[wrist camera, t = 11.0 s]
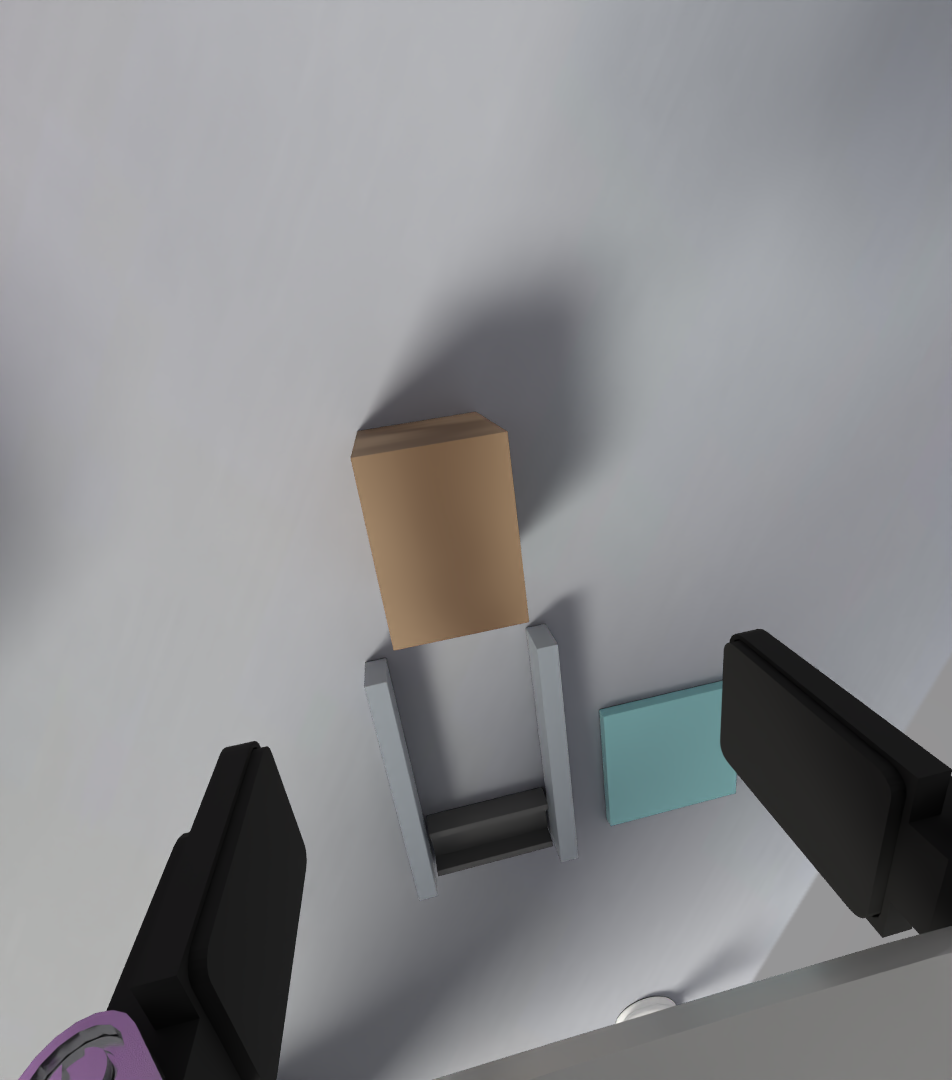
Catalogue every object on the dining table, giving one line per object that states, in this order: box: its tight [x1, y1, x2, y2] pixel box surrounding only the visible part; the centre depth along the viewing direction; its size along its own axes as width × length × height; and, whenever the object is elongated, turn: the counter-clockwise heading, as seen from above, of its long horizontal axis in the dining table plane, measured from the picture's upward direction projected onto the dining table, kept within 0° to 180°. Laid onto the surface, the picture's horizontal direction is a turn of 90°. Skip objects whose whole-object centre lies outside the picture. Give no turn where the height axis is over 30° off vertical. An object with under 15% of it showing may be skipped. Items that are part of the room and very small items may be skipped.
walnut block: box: [351, 412, 529, 650], centre depth 21 cm, size 5×7×6 cm
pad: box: [599, 681, 737, 826], centre depth 30 cm, size 8×8×1 cm
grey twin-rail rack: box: [364, 624, 578, 901], centre depth 28 cm, size 9×14×2 cm, turn 8°
